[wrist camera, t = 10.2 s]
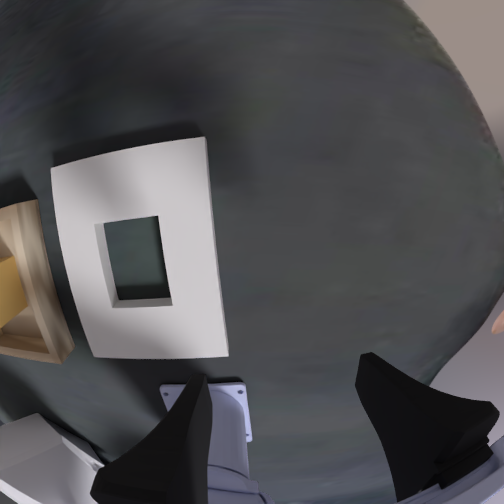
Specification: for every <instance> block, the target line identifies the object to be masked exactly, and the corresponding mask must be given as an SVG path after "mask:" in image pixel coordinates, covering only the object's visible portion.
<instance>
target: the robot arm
mask: <svg viewBox="0 0 504 504" xmlns="http://www.w3.org/2000/svg"><path fill="white" fill-rule="evenodd" d="M355 387H356V390H357V393H358V396H359V398H360V401H361V403H362V405H363V407H364V409H365V411H366V413H367V415H368V417H369V419H370V420H371V422H372V424H373V426H374V428H375V430H376V432H377V434H378V436H379V438H380V440H381V443H382V446H383V448H384V451H385V454H386V457H387V460H388V464H389V467H390V471H391V474H392V478H393V482H394V487H395V492H396V498H397V503H395V504H484V503H485V502H486V501H487V500H489V499H490V498H491V497H492V496H494V495H495V494H496V493H497V492H499V491H500V490H501V489H502V488H503V487H504V436H502V437H501V438H500V439H499V440H497V441H496V442H495V443H494V444H492V445H491V446H490V447H489V446H488V444H487V443H488V442H489V439H488V437H487V435H488V433H489V432H490V431H491V429H492V428H493V426H494V425H495V423H496V422H497V420H498V418H499V415H500V414H499V411H498V410H497V408H496V407H495V406H494V405H493V404H492V403H491V402H490V401H479V400H471V399H466V398H461V397H457V396H453V395H450V394H446V393H444V392H440V391H438V390H436V389H433V388H431V387H429V386H426V385H424V384H422V383H420V382H418V381H417V380H415V379H413V378H411V377H409V376H408V375H406V374H404V373H403V372H401V371H400V370H398V369H397V368H395V367H393V366H392V365H391V364H389V363H388V362H386V361H385V360H383V359H382V358H380V357H379V356H377V355H376V354H374V353H373V352H370V353H366V354H361V356H360V361H359V367H358V372H357V377H356V382H355ZM239 390H242V391H239ZM160 392H161V395H162V398H163V400H164V403H165V406H166V408H167V411H168V413H167V414H166V415H165V416H164V418H163V419H162V420H161V421H160V423H159V424H158V425H157V426H156V427H155V428H154V429H153V430H152V431H151V432H150V433H149V434H148V435H147V436H146V437H145V438H144V439H143V440H142V441H141V442H140V443H138V444H137V445H136V446H135V447H133V448H132V449H131V450H129V451H128V452H127V453H125V454H124V455H122V456H121V457H119V458H118V459H116V460H115V461H113V462H111V463H109V464H107V465H105V466H103V467H101V468H99V469H98V472H97V474H96V475H95V478H94V481H93V484H92V487H91V491H90V495H91V497H92V498H93V499H94V500H95V501H96V502H97V503H98V504H275V502H274V501H273V499H272V498H271V497H270V496H269V495H268V494H267V493H264V492H259V487H258V481H253V480H250V479H249V467H248V454H247V442H250V441H252V432H251V425H250V418H249V410H248V402H247V394H246V387H245V384H244V383H243V382H232V383H216V384H208V383H207V379H206V374H195V375H191V376H190V378H189V380H188V382H187V384H185V385H161V386H160ZM165 392H166V393H165ZM167 393H168V394H167Z"/></svg>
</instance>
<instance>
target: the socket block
mask: <svg viewBox="0 0 504 504" xmlns="http://www.w3.org/2000/svg"><path fill="white" fill-rule="evenodd" d="M51 179H52V190H53V199H54V207H55V215H56V221H57V227H58V233H59V239H60V244H61V249H62V254H63V258H64V263H65V267H66V271H67V275H68V279H69V283H70V287H71V291H72V294H73V298H74V301H75V304H76V308H77V311H78V314H79V317H80V320H81V323H82V326H83V329H84V332H85V335H86V337H87V340H88V343H89V345H90V348H91V351H92V353H93V356H94V357H102V358H125V359H184V358H208V357H225V356H228V339H227V331H226V324H225V316H224V309H223V301H222V293H221V284H220V276H219V267H218V259H217V249H216V240H215V230H214V220H213V210H212V199H211V188H210V177H209V164H208V151H207V140H206V138H205V137H198V138H190V139H183V140H175V141H169V142H162V143H156V144H150V145H145V146H139V147H134V148H129V149H124V150H119V151H115V152H110V153H106V154H101V155H97V156H93V157H89V158H85V159H81V160H78V161H74V162H70V163H67V164H63V165H60V166H57V167H53V168H51ZM150 216H158V217H159V225H160V233H161V240H162V246H163V253H164V259H165V265H166V271H167V277H168V283H169V288H170V293H171V298H156V299H137V300H119V299H118V295H117V291H116V287H115V283H114V278H113V274H112V269H111V264H110V259H109V254H108V249H107V244H106V238H105V232H104V226H103V223H106V222H113V221H120V220H127V219H134V218H142V217H150Z"/></svg>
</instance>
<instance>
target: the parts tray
mask: <svg viewBox="0 0 504 504" xmlns="http://www.w3.org/2000/svg"><path fill="white" fill-rule="evenodd" d="M9 256H14V257H15V262H16V266H17V270H18V274H19V278H20V281H21V285H22V288H23V292H24V295H25V298H26V301H27V304H28V306H27V307H26V308H25V309H24V310H22V311H21V312H20V313H19V314H17V315H16V316H15V317H14V318H12V319H11V320H10V321H9V322H8V323H6V324H5V325H4V326H3V327H2V328H1V329H0V353H1V354H5V355H10V356H15V357H20V358H26V359H31V360H37V361H44V362H51V363H58V364H62V363H63V362H64V361H65V359H66V358H67V357H68V355H69V354H70V353H71V351H72V350H73V349H74V348H75V344H74V342H73V339H72V337H71V334H70V331H69V329H68V326H67V323H66V320H65V317H64V314H63V311H62V308H61V305H60V302H59V298H58V295H57V292H56V288H55V285H54V281H53V277H52V273H51V269H50V265H49V261H48V256H47V252H46V247H45V242H44V237H43V231H42V225H41V219H40V212H39V204H38V199H36V200H31V201H26V202H21V203H17V204H13V205H10V206H7V207H4V208H1V209H0V258H3V257H9Z"/></svg>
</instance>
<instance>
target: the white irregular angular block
mask: <svg viewBox="0 0 504 504" xmlns="http://www.w3.org/2000/svg"><path fill="white" fill-rule="evenodd" d="M103 466H104V464H103V463H102V462H101V460H100V459H99V458H98V456H97V455H96V453H95V452H94V451H93V449H92V448H91V446H90V445H89V443H88V442H86V441H84V440H82V439H81V438H79V437H77V436H75V435H73V434H71V433H70V432H68V431H66V430H64V429H63V428H61V427H59V426H58V425H56V424H54V423H53V422H51V421H50V420H48V419H46V418H45V417H43V416H42V415H40V414H39V413H35V414H32V415H29V416H27V417H24V418H21V419H19V420H16V421H13V422H10V423H8V424H5V425H2V426H0V491H2V492H3V493H4V494H6V495H7V496H8V497H10V498H11V499H13V500H14V501H15V502H17V503H18V504H98V503H97V502H96V501H95V500H94V499H93V498H92V497H91V495H90V491H91V487H92V484H93V481H94V478H95V475H96V474H97V472H98V469H99V468H101V467H103Z"/></svg>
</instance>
